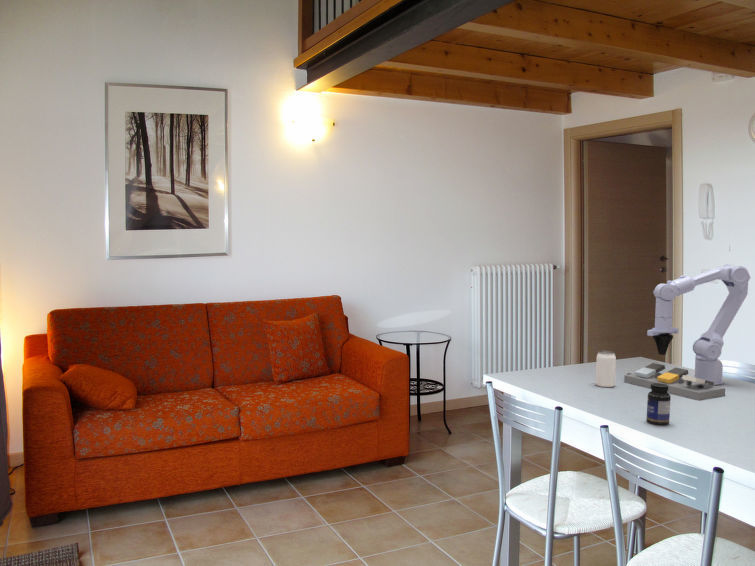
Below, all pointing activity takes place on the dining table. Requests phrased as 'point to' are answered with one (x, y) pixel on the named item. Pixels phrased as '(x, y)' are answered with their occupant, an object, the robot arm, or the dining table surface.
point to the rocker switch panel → (679, 387)
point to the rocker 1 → (649, 370)
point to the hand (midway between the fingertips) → (662, 354)
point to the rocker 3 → (697, 380)
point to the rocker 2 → (672, 375)
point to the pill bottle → (658, 404)
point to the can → (605, 369)
